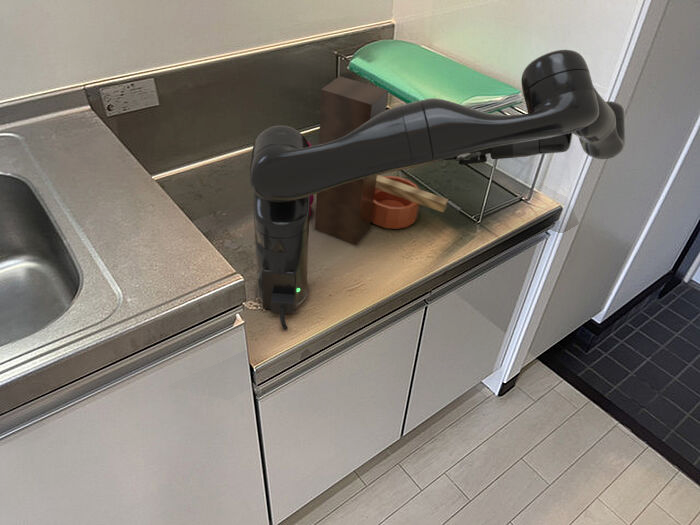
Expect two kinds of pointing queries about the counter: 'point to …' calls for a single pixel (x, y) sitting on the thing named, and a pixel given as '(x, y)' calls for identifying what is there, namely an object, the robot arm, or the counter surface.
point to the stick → (411, 193)
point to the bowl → (394, 208)
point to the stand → (335, 122)
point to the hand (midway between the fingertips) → (433, 146)
